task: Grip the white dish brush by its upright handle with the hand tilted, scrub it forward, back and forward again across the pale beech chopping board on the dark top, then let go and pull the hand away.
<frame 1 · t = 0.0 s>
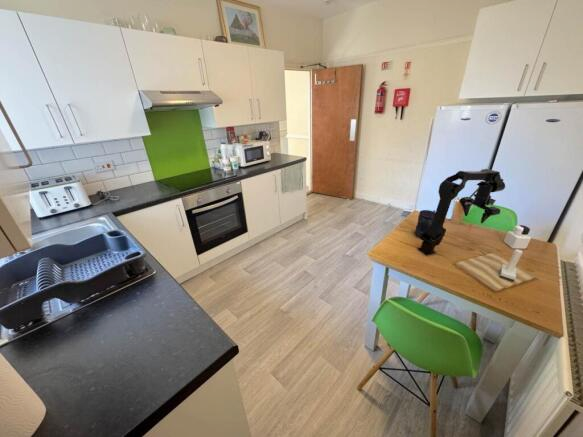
hand: (473, 219, 132), 15 cm above the table, tool pointing down, fingers open, 9 cm apart
chopping board: (493, 271, 116), on the table
medicine bottle: (514, 245, 135), on the table
glass: (456, 221, 160), on the table
storage jar: (423, 235, 147), on the table
dish brush: (506, 275, 111), point 1 cm above the table, touching chopping board
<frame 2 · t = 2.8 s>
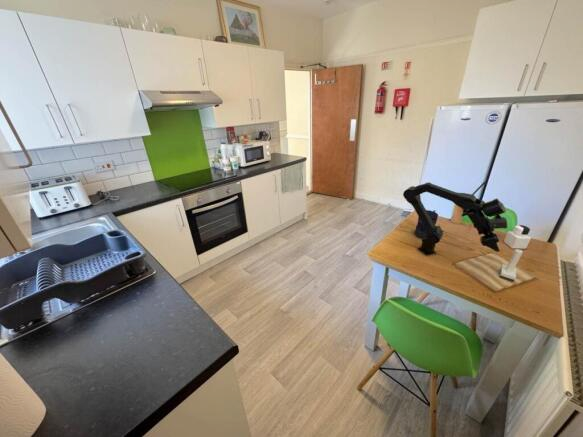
hand: (496, 246, 111), 14 cm above the table, tool tilted 40°, fingers open, 9 cm apart
nothing on the table moved.
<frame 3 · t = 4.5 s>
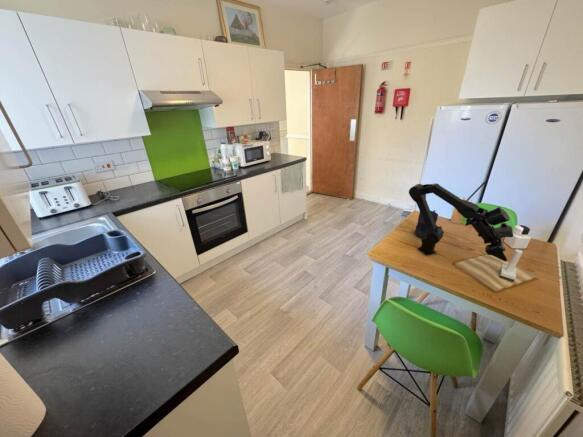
hand: (505, 255, 109), 11 cm above the table, tool tilted 45°, fingers open, 9 cm apart
nothing on the table moved.
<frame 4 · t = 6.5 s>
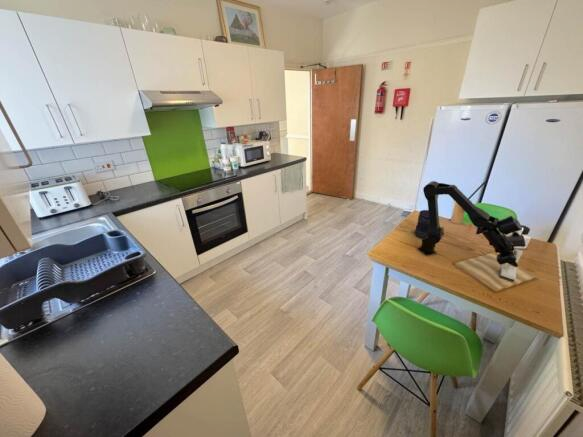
hand: (516, 264, 107), 8 cm above the table, tool tilted 45°, fingers closed on dish brush, 2 cm apart
dish brush: (506, 275, 111), point 1 cm above the table, touching chopping board, gripper
everything else where it was.
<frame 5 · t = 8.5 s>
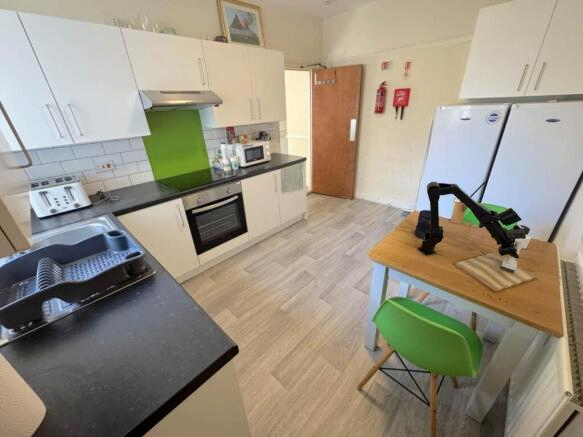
hand: (517, 256, 112), 8 cm above the table, tool tilted 45°, fingers closed on dish brush, 3 cm apart
dish brush: (507, 267, 116), point 2 cm above the table, tilted 6°, touching chopping board, gripper
everything else where it was.
when the fingers open (8 cm above the table, at t = 10.6 s): dish brush stays where it is, resting on chopping board.
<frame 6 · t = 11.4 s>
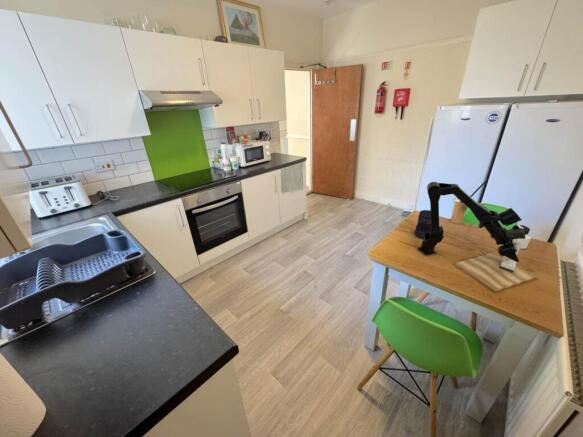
hand: (516, 256, 113), 8 cm above the table, tool tilted 45°, fingers open, 9 cm apart
dish brush: (506, 266, 117), point 1 cm above the table, touching chopping board
everything else where it was.
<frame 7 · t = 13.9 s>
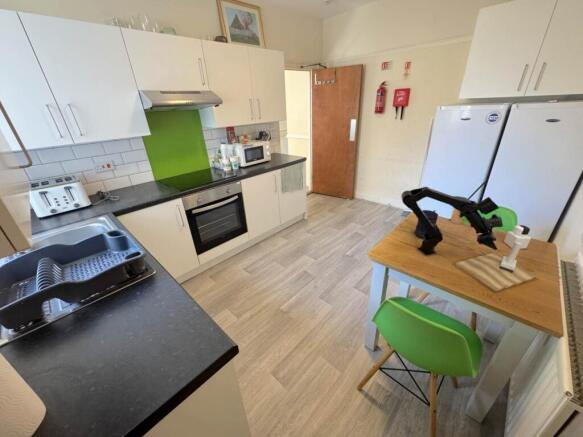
hand: (495, 244, 116), 11 cm above the table, tool tilted 45°, fingers open, 9 cm apart
nothing on the table moved.
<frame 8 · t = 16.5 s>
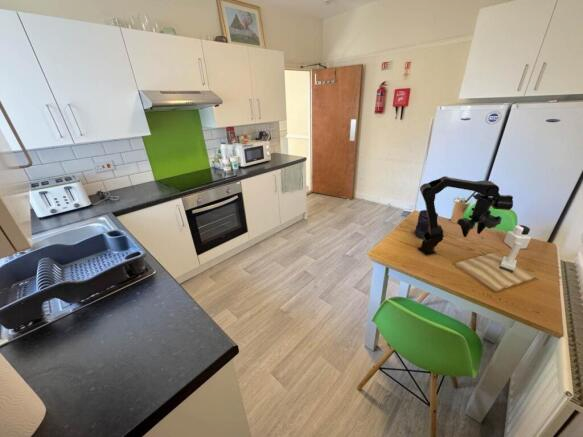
hand: (471, 235, 121), 13 cm above the table, tool pointing down, fingers open, 9 cm apart
nothing on the table moved.
at the end: dish brush moved 7.9 cm from its start; dish brush inside the target area on the chopping board (0.2 cm from its centre), point 1.2 cm above the chopping board's base; dish brush tilted 0° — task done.
